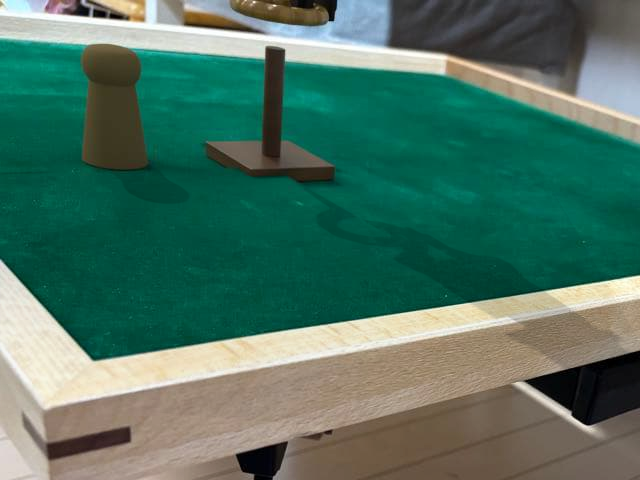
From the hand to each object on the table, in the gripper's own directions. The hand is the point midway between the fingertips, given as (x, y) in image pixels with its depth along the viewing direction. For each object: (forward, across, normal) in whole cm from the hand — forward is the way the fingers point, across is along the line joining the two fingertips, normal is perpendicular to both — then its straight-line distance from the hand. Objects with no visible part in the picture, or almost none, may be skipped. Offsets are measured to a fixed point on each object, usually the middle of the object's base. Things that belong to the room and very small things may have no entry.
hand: (312, 16), depth 92 cm
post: (+16, +4, 0) cm, 16 cm away
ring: (0, +4, 0) cm, 4 cm away
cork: (+16, +19, -4) cm, 25 cm away
